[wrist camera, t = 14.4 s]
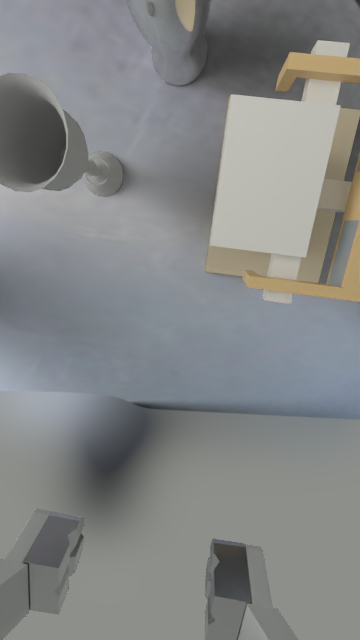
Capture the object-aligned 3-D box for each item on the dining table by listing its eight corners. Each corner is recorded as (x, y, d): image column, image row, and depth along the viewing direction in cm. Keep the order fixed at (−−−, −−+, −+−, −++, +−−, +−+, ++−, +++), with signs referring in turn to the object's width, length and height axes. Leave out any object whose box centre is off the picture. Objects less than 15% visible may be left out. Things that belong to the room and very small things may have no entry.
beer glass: (224, 59, 35) (235, -57, 20) (173, 105, 36) (150, 28, 22) (186, -2, 33) (169, -173, 19) (135, 48, 35) (85, -74, 21)
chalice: (123, 212, 40) (60, 203, 23) (72, 198, 40) (-30, 178, 23) (135, 149, 38) (75, 87, 21) (80, 134, 38) (-25, 60, 21)
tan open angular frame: (242, 279, 31) (247, 287, 28) (278, 76, 26) (289, 51, 22) (341, 292, 31) (360, 302, 27) (397, 88, 26) (430, 65, 22)
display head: (204, 272, 41) (202, 295, 28) (228, 98, 36) (241, 23, 22) (313, 286, 41) (364, 316, 27) (355, 111, 35) (447, 41, 22)
